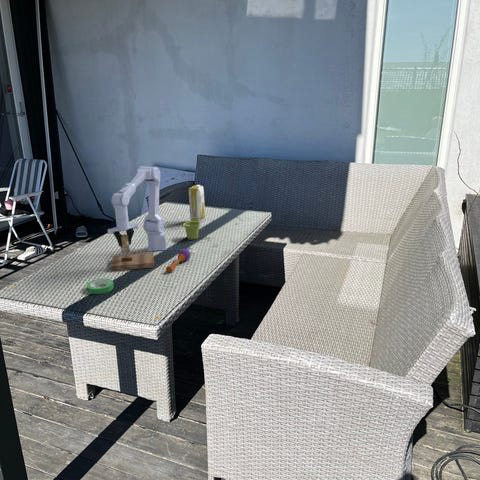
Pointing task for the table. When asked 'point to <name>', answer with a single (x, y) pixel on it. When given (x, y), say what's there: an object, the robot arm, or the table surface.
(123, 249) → the beech peg
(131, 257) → the walnut board
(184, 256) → the kendama
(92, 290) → the tape roll
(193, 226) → the plant pot
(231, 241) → the table surface
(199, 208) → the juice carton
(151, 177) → the robot arm
